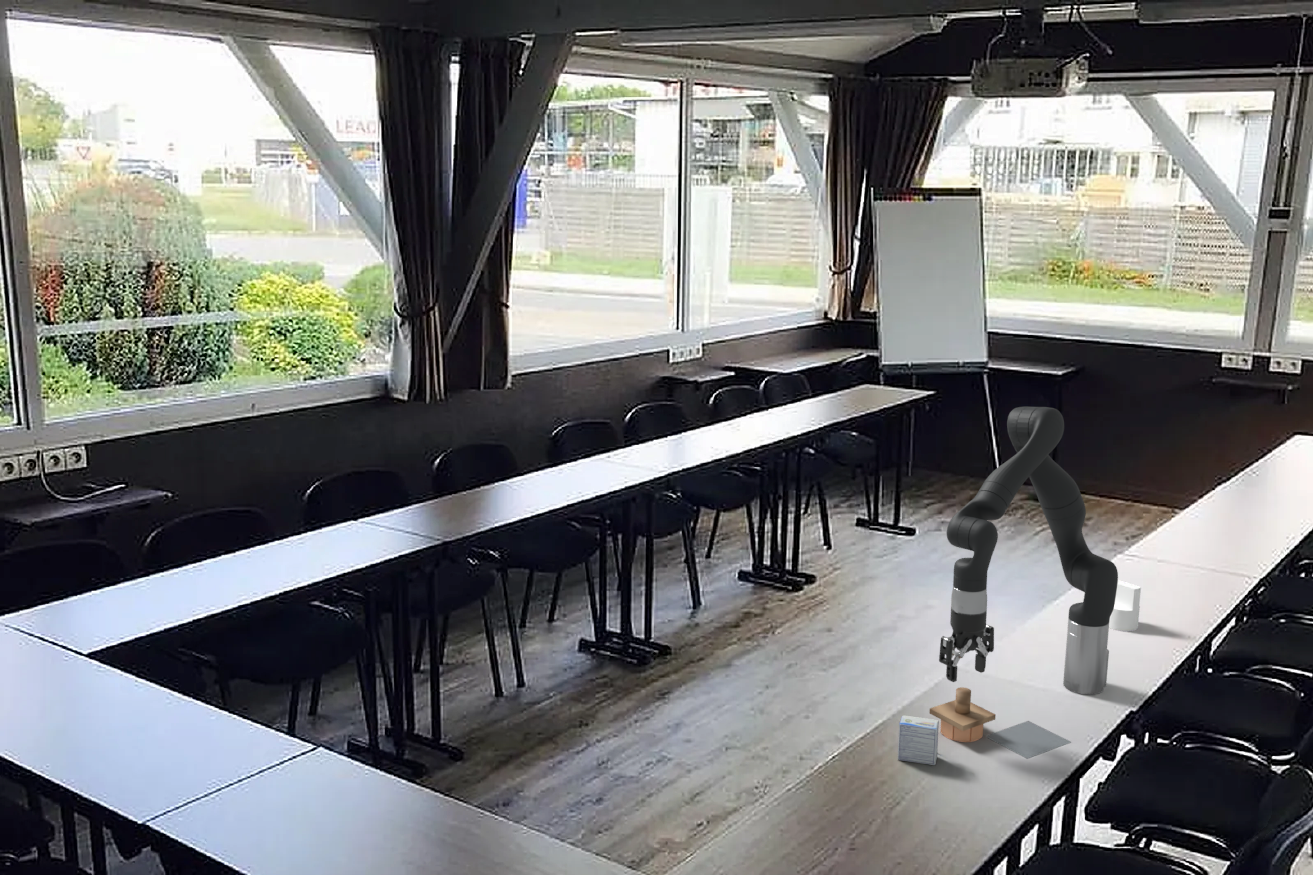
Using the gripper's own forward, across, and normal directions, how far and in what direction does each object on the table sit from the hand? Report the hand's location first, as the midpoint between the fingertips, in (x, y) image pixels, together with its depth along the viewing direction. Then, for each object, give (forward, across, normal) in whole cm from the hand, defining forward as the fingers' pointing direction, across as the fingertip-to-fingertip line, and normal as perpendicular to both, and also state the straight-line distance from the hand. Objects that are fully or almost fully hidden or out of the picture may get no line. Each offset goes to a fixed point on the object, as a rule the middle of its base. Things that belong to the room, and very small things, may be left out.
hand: (965, 676), depth 261 cm
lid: (+10, 0, 0) cm, 10 cm away
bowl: (+14, 0, 0) cm, 14 cm away
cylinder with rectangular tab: (+15, -84, -23) cm, 88 cm away
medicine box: (+14, +16, +3) cm, 22 cm away
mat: (+14, -10, +10) cm, 20 cm away
